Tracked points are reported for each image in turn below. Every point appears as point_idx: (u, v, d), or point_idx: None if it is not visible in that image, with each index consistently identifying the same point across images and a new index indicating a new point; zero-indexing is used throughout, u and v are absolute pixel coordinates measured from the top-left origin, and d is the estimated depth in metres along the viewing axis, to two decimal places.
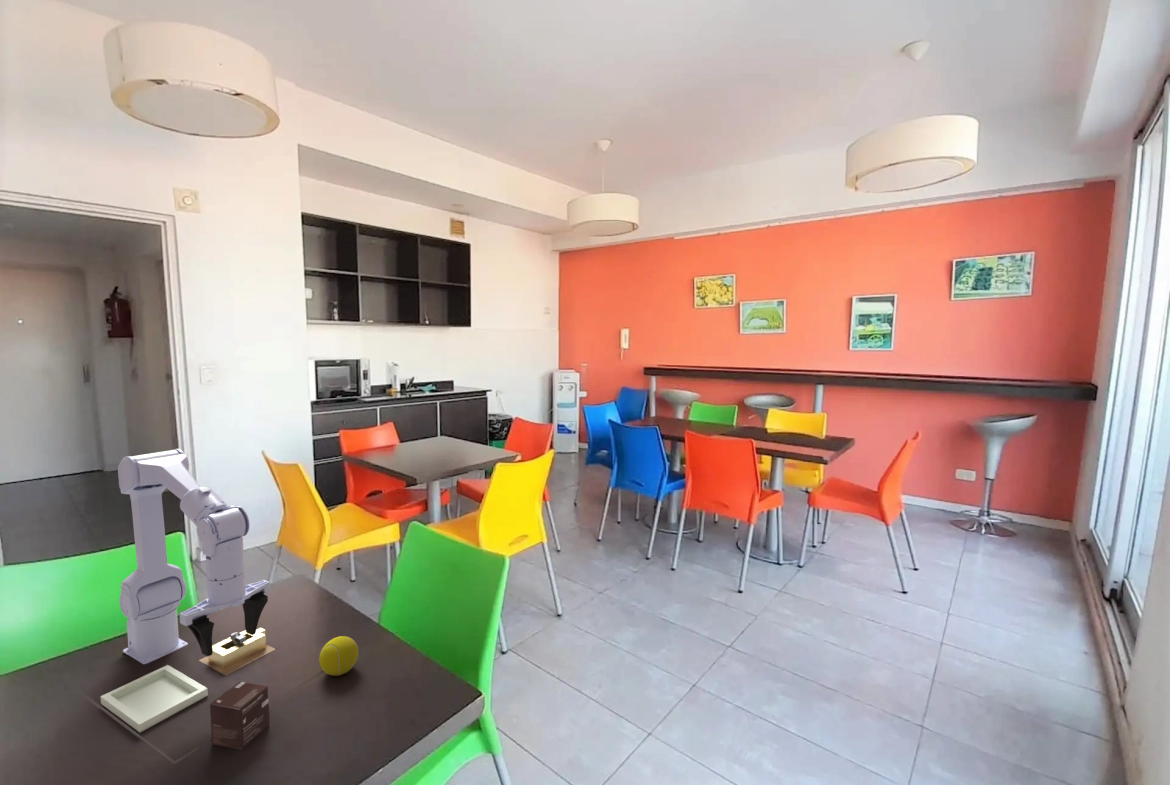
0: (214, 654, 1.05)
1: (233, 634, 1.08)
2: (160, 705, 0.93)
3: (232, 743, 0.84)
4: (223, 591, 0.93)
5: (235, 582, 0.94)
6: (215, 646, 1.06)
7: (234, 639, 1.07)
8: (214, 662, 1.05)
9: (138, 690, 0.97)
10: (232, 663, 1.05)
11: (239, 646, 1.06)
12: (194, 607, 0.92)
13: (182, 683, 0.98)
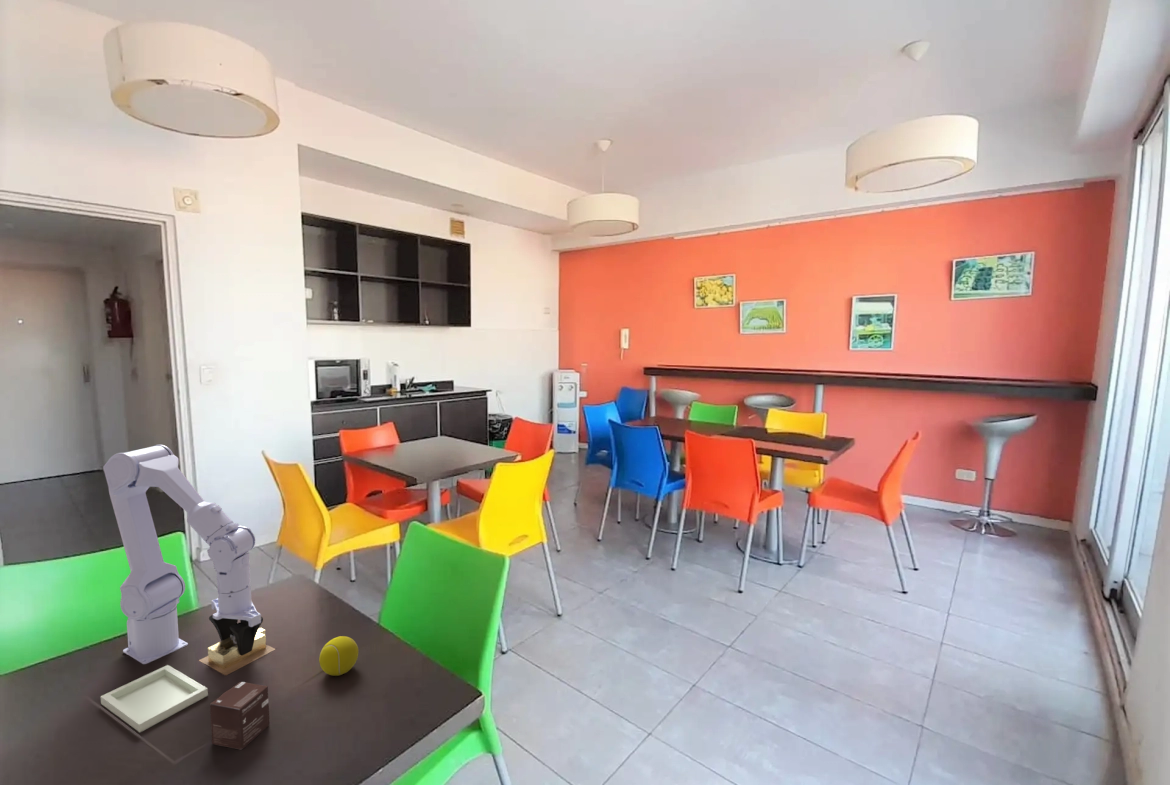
0: (214, 654, 1.05)
1: (233, 634, 1.08)
2: (160, 705, 0.93)
3: (232, 743, 0.84)
4: None
5: (220, 597, 1.05)
6: (215, 646, 1.06)
7: (234, 639, 1.07)
8: (214, 662, 1.05)
9: (138, 690, 0.97)
10: (232, 663, 1.05)
11: None
12: None
13: (182, 683, 0.98)
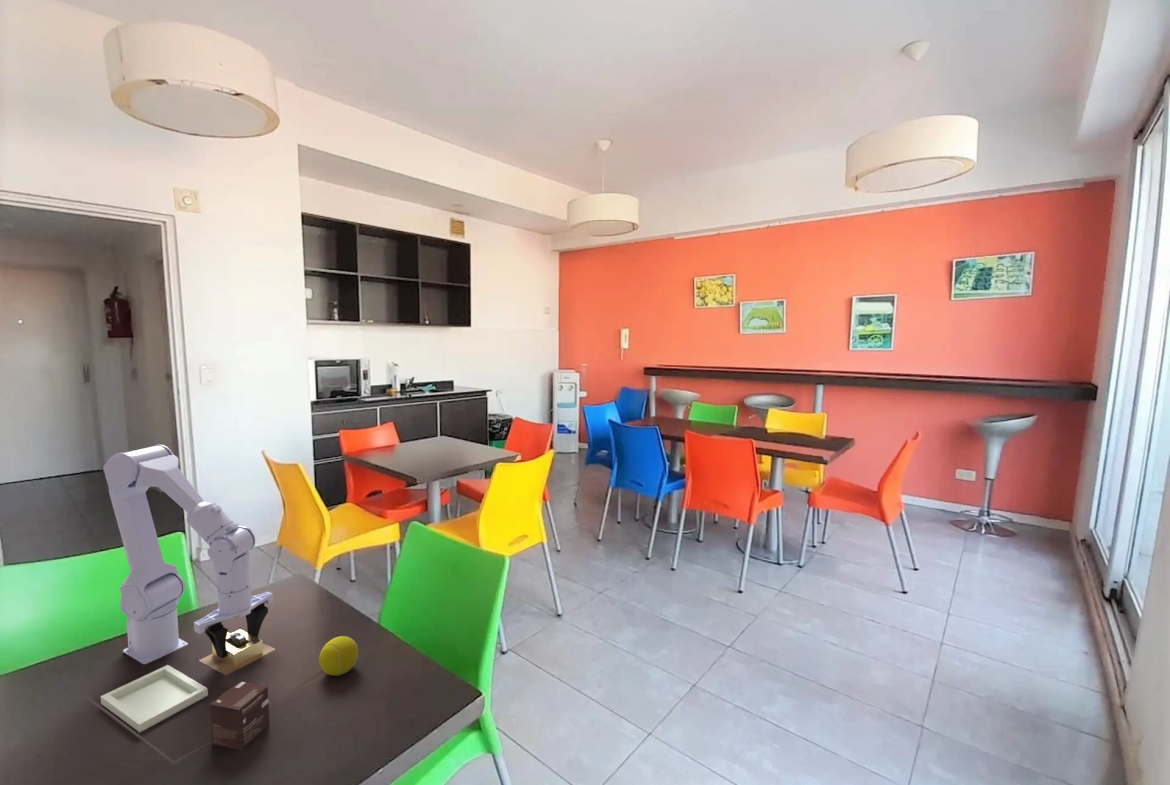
0: (246, 651, 1.06)
1: (233, 634, 1.08)
2: (160, 705, 0.93)
3: (232, 743, 0.84)
4: (232, 602, 1.05)
5: (242, 594, 1.06)
6: (235, 650, 1.05)
7: (234, 639, 1.07)
8: (246, 659, 1.06)
9: (138, 690, 0.97)
10: None
11: (251, 636, 1.10)
12: (206, 617, 1.04)
13: (182, 683, 0.98)
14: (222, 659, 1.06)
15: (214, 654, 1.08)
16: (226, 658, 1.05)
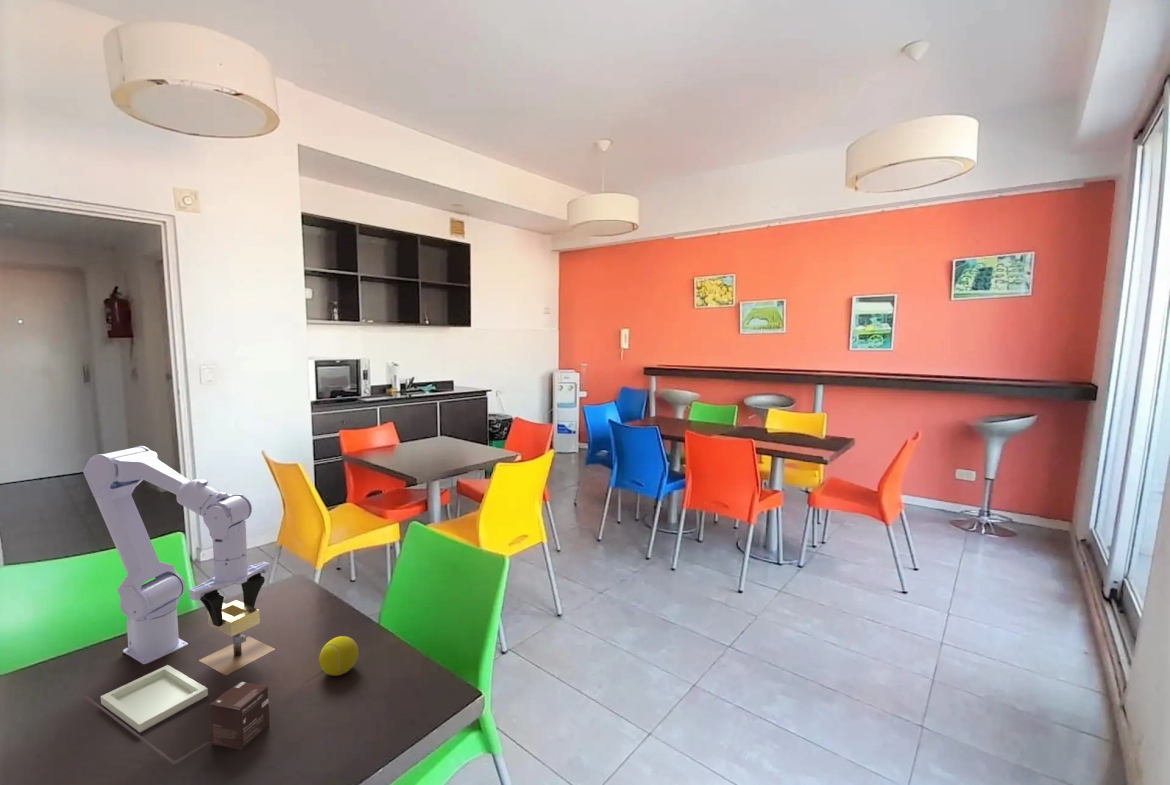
0: (243, 620, 1.05)
1: None
2: (160, 705, 0.93)
3: (232, 743, 0.84)
4: (228, 570, 1.04)
5: (239, 562, 1.05)
6: (232, 619, 1.04)
7: (234, 639, 1.07)
8: (243, 628, 1.05)
9: (138, 690, 0.97)
10: None
11: (247, 606, 1.09)
12: (202, 584, 1.03)
13: (182, 683, 0.98)
14: (218, 628, 1.05)
15: (210, 624, 1.06)
16: (223, 627, 1.04)
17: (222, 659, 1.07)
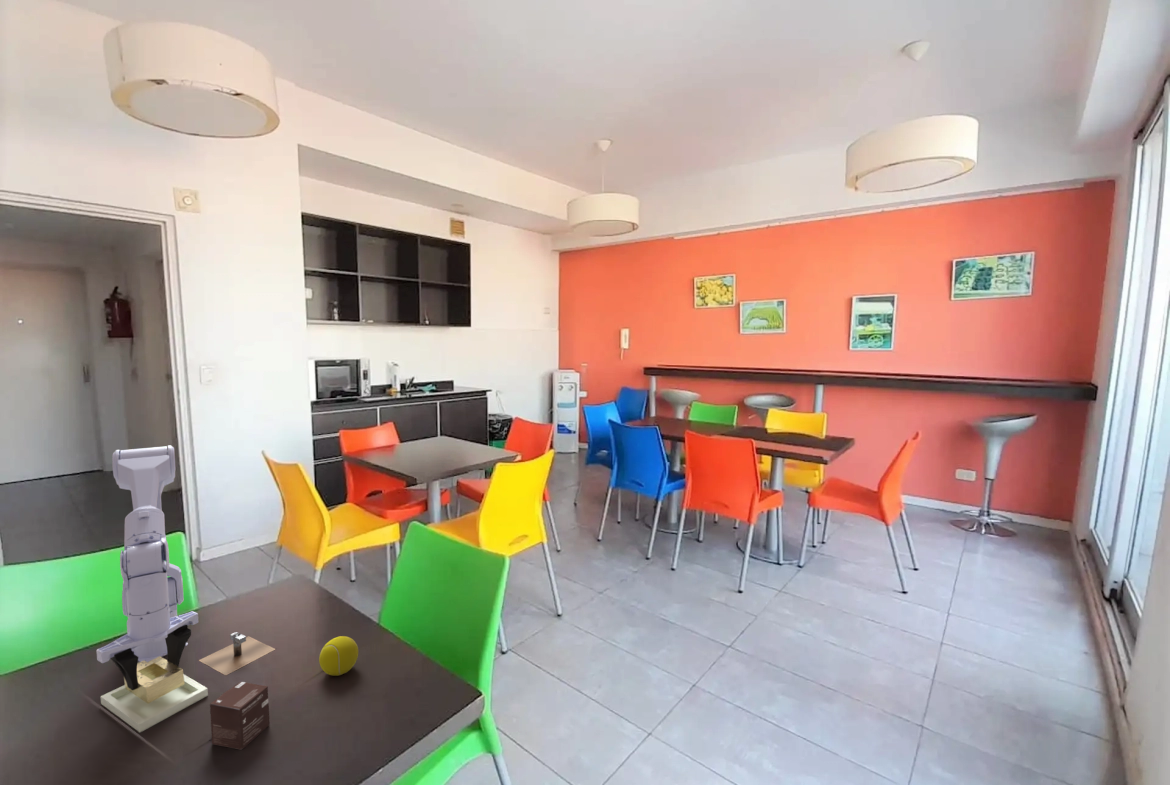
0: (162, 683, 0.92)
1: (233, 634, 1.08)
2: (160, 705, 0.93)
3: (232, 743, 0.84)
4: (144, 625, 0.91)
5: (157, 616, 0.92)
6: (149, 683, 0.91)
7: (234, 639, 1.07)
8: (163, 692, 0.92)
9: None
10: None
11: (170, 665, 0.96)
12: (113, 642, 0.90)
13: None
14: (135, 693, 0.92)
15: (126, 687, 0.94)
16: (139, 692, 0.91)
17: (222, 659, 1.07)
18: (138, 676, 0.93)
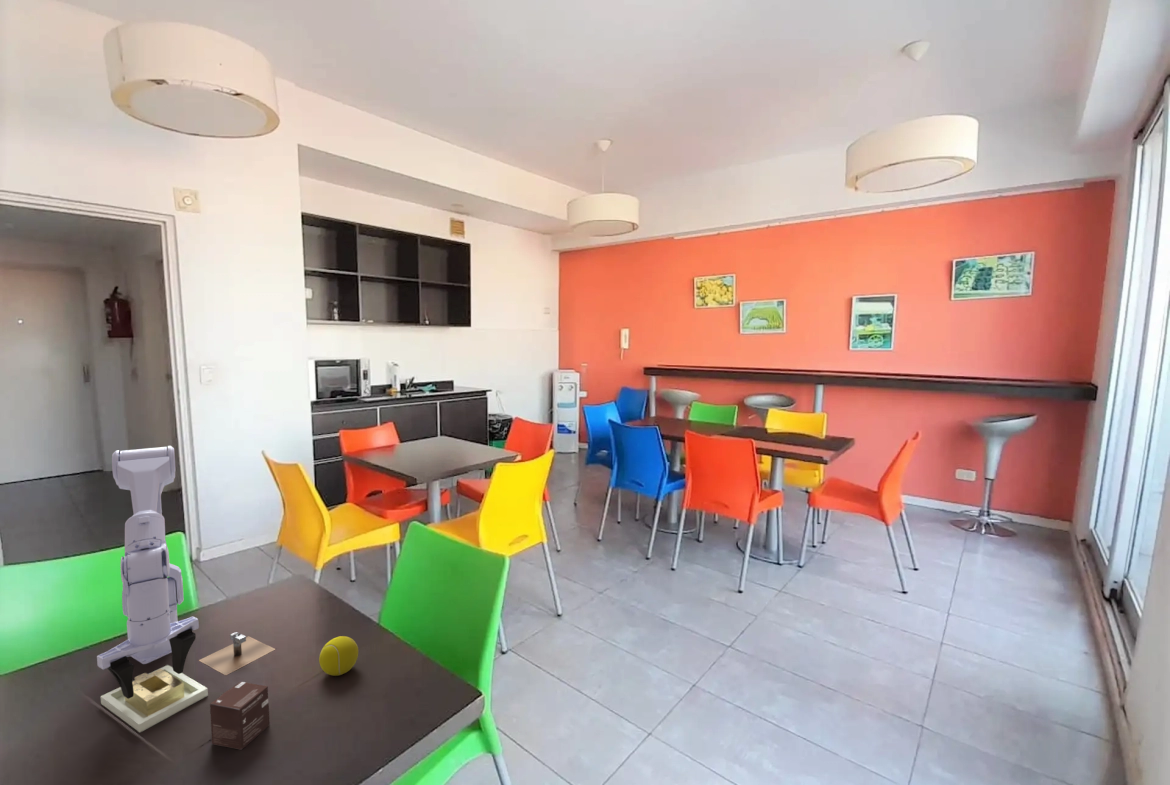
0: (163, 697, 0.92)
1: (233, 634, 1.08)
2: None
3: (232, 743, 0.84)
4: (144, 631, 0.91)
5: (157, 622, 0.92)
6: (149, 696, 0.91)
7: (234, 639, 1.07)
8: (163, 705, 0.92)
9: None
10: None
11: (171, 678, 0.96)
12: (114, 648, 0.90)
13: None
14: (135, 706, 0.92)
15: (127, 700, 0.94)
16: (139, 705, 0.91)
17: (222, 659, 1.07)
18: (139, 689, 0.93)
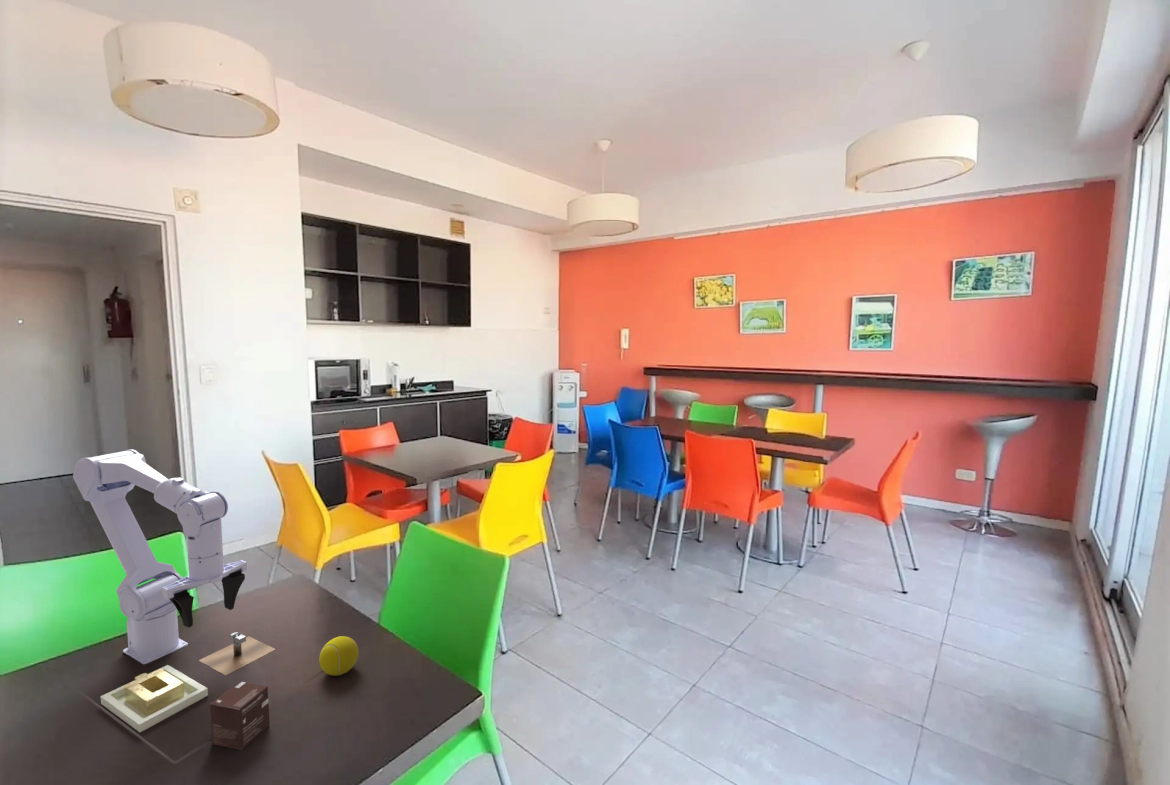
0: (163, 697, 0.92)
1: (233, 634, 1.08)
2: None
3: (232, 743, 0.84)
4: (202, 568, 1.02)
5: (213, 560, 1.03)
6: (149, 696, 0.91)
7: (234, 639, 1.07)
8: (163, 705, 0.92)
9: None
10: None
11: (171, 678, 0.96)
12: (176, 582, 1.01)
13: None
14: (135, 706, 0.92)
15: (127, 700, 0.94)
16: (139, 705, 0.91)
17: (222, 659, 1.07)
18: (139, 689, 0.93)
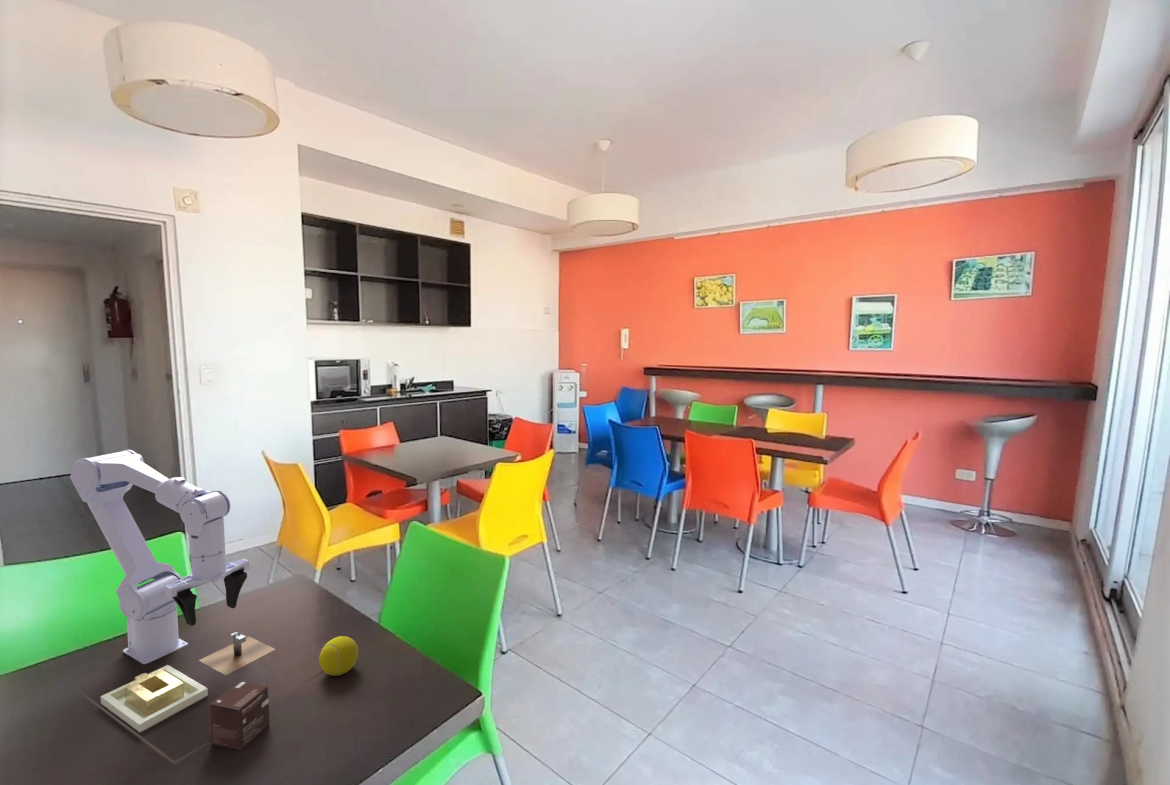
0: (163, 697, 0.92)
1: (233, 634, 1.08)
2: None
3: (232, 743, 0.84)
4: (205, 567, 1.03)
5: (216, 559, 1.04)
6: (149, 696, 0.91)
7: (234, 639, 1.07)
8: (163, 705, 0.92)
9: None
10: None
11: (171, 678, 0.96)
12: (179, 581, 1.02)
13: None
14: (135, 706, 0.92)
15: (127, 700, 0.94)
16: (139, 705, 0.91)
17: (222, 659, 1.07)
18: (139, 689, 0.93)
